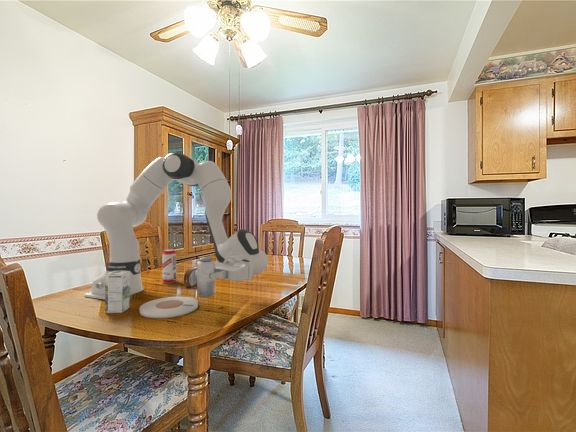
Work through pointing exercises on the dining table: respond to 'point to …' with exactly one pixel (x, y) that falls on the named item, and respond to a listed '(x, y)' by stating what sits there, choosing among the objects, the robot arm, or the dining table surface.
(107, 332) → the dining table surface
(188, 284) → the tin
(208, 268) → the white drink can
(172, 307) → the disc
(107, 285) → the syrup box
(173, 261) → the beer can
